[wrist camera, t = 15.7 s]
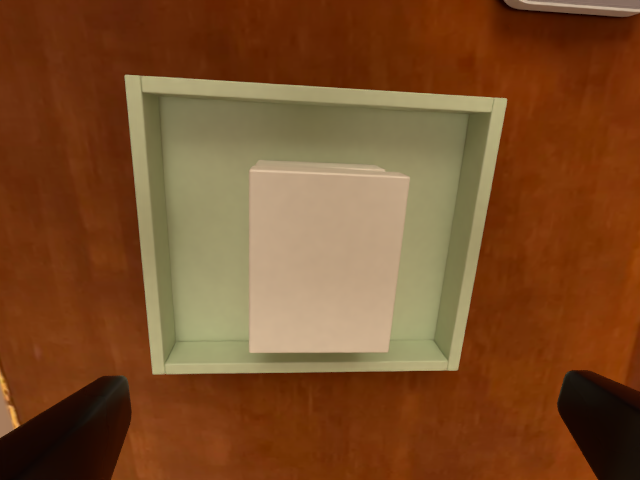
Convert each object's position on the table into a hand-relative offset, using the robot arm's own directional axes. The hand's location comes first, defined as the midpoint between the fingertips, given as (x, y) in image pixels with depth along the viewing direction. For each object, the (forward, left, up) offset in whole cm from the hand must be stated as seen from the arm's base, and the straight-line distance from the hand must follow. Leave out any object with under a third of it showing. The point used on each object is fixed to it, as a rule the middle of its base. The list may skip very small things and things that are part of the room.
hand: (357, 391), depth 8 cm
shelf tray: (0, 0, -12) cm, 12 cm away
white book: (0, 0, -8) cm, 8 cm away
